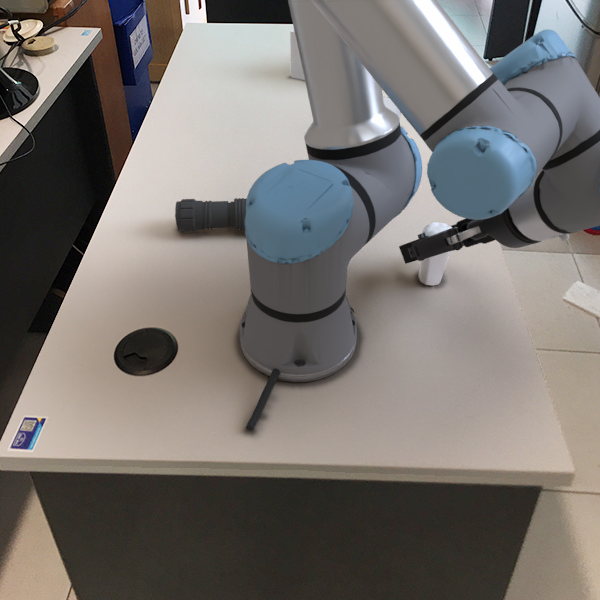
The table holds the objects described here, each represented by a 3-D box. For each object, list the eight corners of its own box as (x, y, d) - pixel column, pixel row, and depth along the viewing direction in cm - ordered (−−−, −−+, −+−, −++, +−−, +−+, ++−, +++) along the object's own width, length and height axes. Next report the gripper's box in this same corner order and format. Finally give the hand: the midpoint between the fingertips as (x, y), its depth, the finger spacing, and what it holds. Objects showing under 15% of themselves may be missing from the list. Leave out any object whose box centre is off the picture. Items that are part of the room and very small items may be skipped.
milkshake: (450, 291, 89) (464, 234, 83) (413, 286, 90) (424, 228, 84) (451, 272, 93) (465, 215, 86) (415, 267, 93) (425, 210, 87)
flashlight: (176, 240, 98) (171, 211, 95) (179, 220, 102) (174, 191, 99) (274, 237, 99) (273, 208, 95) (273, 217, 103) (272, 188, 99)
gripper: (486, 267, 67) (379, 293, 88) (597, 216, 74) (472, 252, 95) (460, 201, 67) (359, 243, 88) (574, 156, 73) (454, 206, 95)
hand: (418, 248), depth 92 cm, fingers closed on milkshake, 5 cm apart
